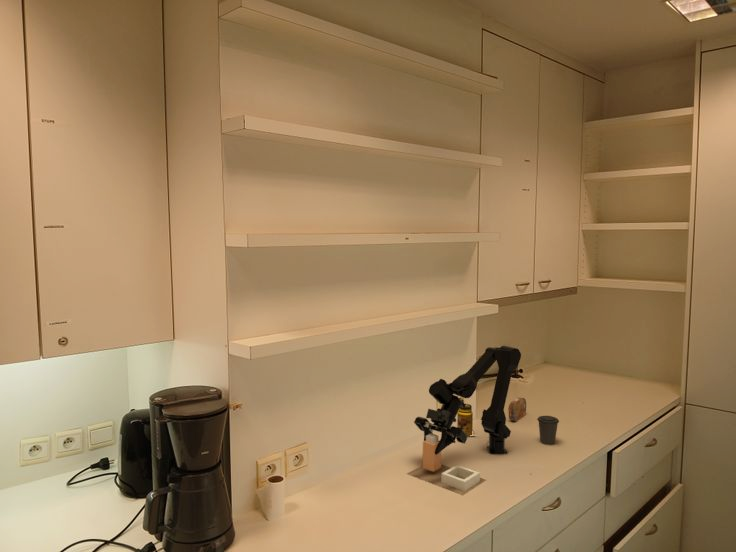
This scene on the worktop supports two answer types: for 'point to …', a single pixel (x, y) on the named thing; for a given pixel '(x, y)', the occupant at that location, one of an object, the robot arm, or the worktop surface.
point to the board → (439, 478)
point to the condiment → (465, 419)
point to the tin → (517, 409)
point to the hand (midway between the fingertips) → (429, 452)
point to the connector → (431, 453)
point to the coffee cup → (547, 429)
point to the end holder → (462, 484)
